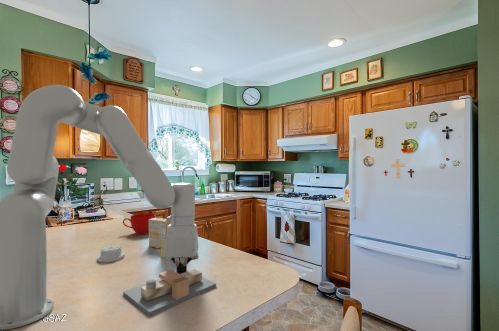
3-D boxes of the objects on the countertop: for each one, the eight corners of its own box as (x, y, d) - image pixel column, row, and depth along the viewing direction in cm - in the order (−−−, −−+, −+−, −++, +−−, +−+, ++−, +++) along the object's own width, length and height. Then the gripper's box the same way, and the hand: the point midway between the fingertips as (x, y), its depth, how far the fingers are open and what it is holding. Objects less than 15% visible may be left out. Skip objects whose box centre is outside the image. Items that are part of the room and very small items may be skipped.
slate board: (149, 316, 65) (149, 312, 65) (123, 295, 76) (123, 291, 76) (216, 286, 82) (216, 283, 82) (186, 272, 92) (186, 269, 92)
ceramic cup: (124, 231, 151) (124, 214, 151) (155, 229, 156) (155, 213, 156) (120, 237, 139) (120, 218, 139) (154, 234, 144) (154, 216, 144)
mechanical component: (91, 262, 103) (113, 264, 101) (91, 251, 103) (113, 252, 101) (109, 254, 113) (129, 255, 111) (109, 243, 113) (129, 245, 111)
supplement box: (168, 246, 123) (168, 218, 123) (160, 249, 119) (160, 220, 119) (156, 243, 127) (156, 217, 127) (148, 246, 123) (148, 218, 123)
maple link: (147, 301, 70) (147, 286, 70) (140, 295, 73) (140, 281, 73) (202, 280, 83) (202, 267, 83) (194, 276, 86) (194, 264, 86)
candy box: (179, 251, 115) (179, 217, 116) (184, 253, 113) (184, 218, 113) (160, 256, 109) (160, 220, 109) (165, 259, 106) (166, 221, 106)
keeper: (176, 299, 72) (176, 283, 72) (158, 288, 78) (158, 273, 78) (188, 294, 75) (188, 278, 75) (170, 284, 81) (170, 269, 81)
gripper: (156, 222, 81) (154, 282, 81) (204, 223, 82) (203, 281, 81) (162, 218, 88) (161, 272, 88) (206, 218, 89) (205, 272, 89)
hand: (181, 276), depth 85 cm, fingers closed
